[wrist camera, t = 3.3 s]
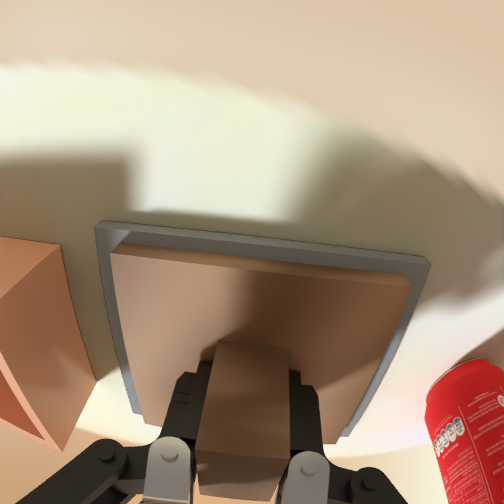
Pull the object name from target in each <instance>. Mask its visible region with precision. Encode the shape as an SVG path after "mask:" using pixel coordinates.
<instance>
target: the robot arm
mask: <svg viewBox="0 0 504 504" xmlns="http://www.w3.org/2000/svg"><path fill="white" fill-rule="evenodd" d="M212 365H213V362H208V361H201V360H200V361H199V364H198V368H197V372H196V373H192V372H186V371H185V372H184V373H183V374H182V375H181V376H180V377H179V378H178V379H177V381H176V384H175V387H174V391H173V394H172V397H171V402H170V404H169V407H168V410H167V413H166V417H165V420H164V424H163V427H162V430H161V433H160V435H159V437H158V438H157V439H156V440H155V441H154V442H152V443H150V444H148V445H145V446H136V447H123V446H122V445H121V444H120V443H118V442H117V441H115V440H112V439H100V440H97V441H95V442H94V443H93V444H91V445H90V446H89V447H88V448H86V449H85V450H84V451H83V452H81V453H80V454H79V455H78V456H77V457H75V458H74V459H73V460H72V461H70V462H69V463H68V464H66V465H65V466H64V467H63V468H61V469H60V470H59V471H57V472H56V473H55V474H54V475H52V476H51V477H50V478H48V479H47V480H46V481H45V482H43V483H42V484H41V485H39V486H38V487H37V488H35V489H34V490H33V491H31V492H30V493H29V494H28V495H26V496H25V497H24V498H22V499H21V500H20V501H18V502H17V503H15V504H127V503H128V502H129V501H130V500H131V499H132V498H133V497H134V496H135V495H136V494H143V499H142V501H141V502H140V503H139V504H194V482H195V479H196V473H197V466H196V458H195V444H196V440H197V435H198V430H199V425H200V421H201V416H202V411H203V407H204V402H205V397H206V393H207V388H208V383H209V379H210V374H211V370H212ZM289 403H290V460H289V462H288V464H287V467H286V469H285V471H284V473H283V475H282V477H281V479H280V481H279V485H278V488H277V491H276V495H275V501H274V504H408V503H407V502H406V500H405V499H404V498H403V497H402V495H401V494H400V493H399V492H398V490H397V489H396V488H395V487H394V485H393V484H392V483H391V481H390V480H389V479H388V478H387V476H386V475H385V474H384V473H383V472H382V471H380V470H379V469H377V468H373V467H365V468H362V469H359V470H358V471H353V470H348V469H345V468H341V467H338V466H336V465H334V464H332V463H331V462H330V461H329V460H328V459H327V458H326V456H325V454H324V450H323V440H322V429H321V418H320V409H319V397H318V394H317V392H316V391H315V389H314V388H313V386H312V385H301V373H300V371H289Z"/></svg>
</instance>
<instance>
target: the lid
mask: <svg viewBox="0 0 504 504" xmlns="http://www.w3.org/2000/svg"><path fill="white" fill-rule="evenodd" d="M110 258H111V266H112V273H113V280H114V287H115V294H116V300H117V306H118V312H119V317H120V323H121V328H122V333H123V338H124V343H125V348H126V352H127V357H128V361H129V366H130V370H131V374H132V378H133V382H134V386H135V390H136V394H137V398H138V401H139V405H140V408H141V412H142V415H143V419H144V422H145V424H150V425H154V426H159V427H163V424H164V420H165V417H166V413H167V410H168V407H169V404H170V402H171V397H172V394H173V391H174V387H175V384H176V381H177V379H178V378H179V377H180V376H181V375H182V374H183V373H184V372H185V371H186V372H192V373H196V372H197V368H198V364H199V361H200V360H201V361H208V362H213V365H212V370H211V374H210V379H209V383H208V388H207V393H206V397H205V402H204V407H203V411H202V416H201V421H200V425H199V430H198V435H197V440H196V444H195V458H196V466H197V475H198V483H199V490H200V494H202V495H208V496H216V497H223V498H232V499H241V500H254V501H270V499H271V497H272V495H273V493H274V491H275V489H276V487H277V485H278V483H279V481H280V479H281V477H282V475H283V473H284V471H285V469H286V467H287V464H288V462H289V460H290V403H289V371H300V373H301V385H312V386H313V388H314V389H315V391H316V392H317V394H318V397H319V409H320V418H321V429H322V440H323V444H336V442H337V441H338V439H339V437H340V436H341V434H342V432H343V431H344V429H345V427H346V426H347V424H348V422H349V420H350V419H351V417H352V415H353V413H354V411H355V410H356V408H357V406H358V404H359V402H360V400H361V399H362V397H363V395H364V393H365V391H366V389H367V387H368V385H369V383H370V381H371V379H372V377H373V375H374V373H375V371H376V369H377V367H378V365H379V363H380V361H381V359H382V356H383V354H384V352H385V350H386V348H387V346H388V343H389V341H390V339H391V337H392V334H393V332H394V330H395V327H396V325H397V323H398V320H399V318H400V315H401V313H402V310H403V308H404V305H405V303H406V300H407V298H408V295H409V292H410V290H411V287H412V286H411V285H410V283H409V282H408V280H407V278H406V277H405V275H404V274H395V273H386V272H376V271H367V270H358V269H348V268H339V267H330V266H321V265H312V264H303V263H294V262H285V261H276V260H267V259H258V258H249V257H240V256H231V255H222V254H213V253H205V252H196V251H187V250H179V249H170V248H161V247H153V246H144V245H136V244H127V243H119V244H118V245H117V246H116V247H115V248H114V249H113V250H112V251H111V252H110Z"/></svg>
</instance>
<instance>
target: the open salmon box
mask: <svg viewBox="0 0 504 504" xmlns="http://www.w3.org/2000/svg"><path fill="white" fill-rule="evenodd" d="M96 383H97V382H96V380H95V377H94V374H93V371H92V368H91V365H90V362H89V359H88V356H87V353H86V350H85V347H84V343H83V340H82V337H81V333H80V330H79V326H78V323H77V319H76V315H75V311H74V308H73V304H72V300H71V295H70V291H69V287H68V282H67V278H66V273H65V268H64V263H63V258H62V252H61V246H60V245H57V244H50V243H43V242H36V241H29V240H22V239H15V238H8V237H1V236H0V422H1V423H3V424H5V425H6V426H8V427H10V428H12V429H14V430H16V431H18V432H19V433H21V434H23V435H25V436H28V437H29V438H31V439H34V440H36V441H38V442H40V443H42V444H44V445H46V446H49V447H51V448H53V449H55V450H58V451H60V452H63V450H64V448H65V446H66V444H67V441H68V439H69V437H70V435H71V433H72V431H73V429H74V427H75V425H76V423H77V420H78V418H79V416H80V414H81V412H82V410H83V408H84V406H85V404H86V402H87V400H88V398H89V396H90V394H91V393H92V391H93V389H94V387H95V385H96Z"/></svg>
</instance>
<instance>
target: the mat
mask: <svg viewBox="0 0 504 504" xmlns="http://www.w3.org/2000/svg"><path fill="white" fill-rule="evenodd" d="M94 229H95V237H96V246H97V253H98V261H99V268H100V274H101V280H102V286H103V292H104V298H105V303H106V308H107V313H108V318H109V323H110V328H111V332H112V337H113V341H114V345H115V350H116V354H117V358H118V362H119V366H120V369H121V373H122V377H123V380H124V384H125V387H126V391H127V394H128V398H129V401H130V404H131V407H132V411H133V413H136V414H140V415H142V412H141V408H140V405H139V401H138V398H137V394H136V390H135V386H134V382H133V378H132V374H131V370H130V366H129V361H128V357H127V352H126V348H125V343H124V338H123V333H122V328H121V323H120V317H119V312H118V306H117V300H116V294H115V287H114V280H113V273H112V266H111V258H110V252H111V251H112V250H113V249H114V248H115V247H116V246H117V245H118V244H119V243H127V244H136V245H144V246H153V247H161V248H170V249H179V250H187V251H196V252H205V253H213V254H222V255H231V256H240V257H249V258H258V259H267V260H276V261H285V262H294V263H303V264H312V265H321V266H330V267H339V268H348V269H358V270H367V271H376V272H386V273H395V274H404V275H405V277H406V278H407V280H408V282H409V283H410V285H411V286H412V287H411V290H410V292H409V295H408V298H407V300H406V303H405V305H404V308H403V310H402V313H401V315H400V318H399V320H398V323H397V325H396V327H395V330H394V332H393V334H392V337H391V339H390V341H389V343H388V346H387V348H386V350H385V352H384V354H383V356H382V359H381V361H380V363H379V365H378V367H377V369H376V371H375V373H374V375H373V377H372V379H371V381H370V383H369V385H368V387H367V389H366V391H365V393H364V395H363V397H362V399H361V400H360V402H359V404H358V406H357V408H356V410H355V411H354V413H353V415H352V417H351V419H350V420H349V422H348V424H347V426H346V427H345V429H344V431H343V432H342V434H341V436H340V437H348V436H349V435H350V433H351V431H352V430H353V428H354V427H355V425H356V423H357V422H358V420H359V418H360V417H361V415H362V413H363V412H364V410H365V408H366V406H367V405H368V403H369V401H370V399H371V397H372V396H373V394H374V392H375V390H376V388H377V386H378V385H379V383H380V381H381V379H382V377H383V375H384V373H385V371H386V369H387V367H388V365H389V363H390V361H391V359H392V357H393V355H394V353H395V351H396V349H397V347H398V345H399V342H400V340H401V338H402V336H403V334H404V331H405V329H406V327H407V325H408V322H409V320H410V318H411V315H412V313H413V311H414V308H415V306H416V303H417V301H418V298H419V296H420V293H421V291H422V288H423V285H424V283H425V280H426V277H427V275H428V272H429V269H430V266H431V264H430V263H429V262H428V260H427V259H426V258H425V257H421V256H413V255H405V254H398V253H390V252H382V251H374V250H366V249H358V248H350V247H342V246H333V245H325V244H317V243H308V242H300V241H291V240H283V239H274V238H265V237H256V236H247V235H238V234H229V233H220V232H210V231H201V230H191V229H182V228H172V227H162V226H152V225H142V224H131V223H121V222H111V221H101V222H100V223H98V224H97V225H96V226H95V227H94Z"/></svg>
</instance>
